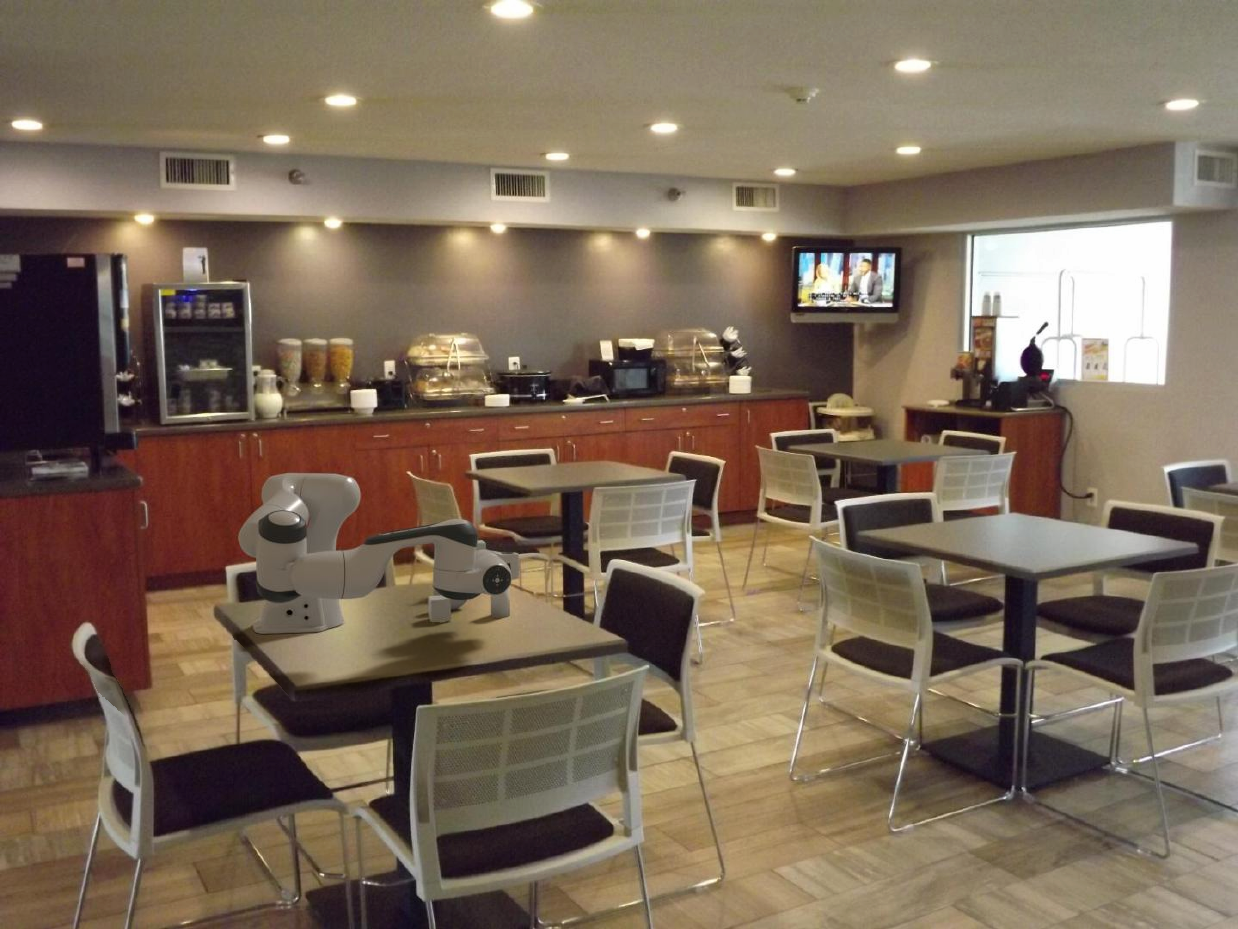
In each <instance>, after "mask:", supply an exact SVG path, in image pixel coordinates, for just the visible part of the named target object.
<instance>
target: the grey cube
mask: <svg viewBox="0 0 1238 929" xmlns="http://www.w3.org/2000/svg"><path fill="white" fill-rule="evenodd" d="M427 598H428V599H427V600H428V603H427V606H428V619H430V620H431V621H430V620H429V621H430V623H431V622H439V623H441V622H440V621H450V620H451V621H452V610H451V600H450V599H449V598H446V597H443V596H442V595H441V596H434V595H429V596H428V597H427Z"/></svg>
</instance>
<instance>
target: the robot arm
mask: <svg viewBox="0 0 1238 929" xmlns="http://www.w3.org/2000/svg"><path fill="white" fill-rule="evenodd" d="M361 496H362V494H361V490H360V486H359V484H358V482H357V480H355V478H354V477H351V476H349V475H348V476H347V475H344V474H338V473H323V472H322V473H321V472H319V473H317V472H316V473H315V472H314V473H311V472H310V473H309V472H308V473H307V472H305V473H304V472H286V473H279V474H276V475H271V476H269V477H268V478H267V479H266V481H265V482H264V483H263V486H262V489H261V500H262V505H261V506H260V507H258V508H257V509H256V510H255V511H254V512H253V513H252V514H251V515H250V516H249V517H248V518H247V519H246V521H245V522H244V523H243V525H242V527H241V528H240V530H239V531H238V532H239V533H238V536H237V537H238V538H237V539H238V542H239V546H240V548H241V550H242V551H243V552H244V553H245V554H246V555H248V556H250V557H252V558H254V559H256V562H255V564H256V566H255V571H256V578H255V585H256V589H257V591H256V592H257V593H258V595H259V597H261V598H263V599H264V600H265V602H264V604H263V607H262V610H261V616H260V618H259V619H256V620H254V622H253V624H252V630H253V631H254V632H255V633H257V634H263V635H264V634H265V635H266V634H267V635H268V634H269V635H270V634H292V633H294V634H296V633H297V634H299V633H300V634H301V633H319V632H322V631H326V630H328V629H332V628H335V627H339V626H341V625H343V624H344V623H345V619H344V616H343V612H342V610H341V604H340V600H353V599H361V598H364V597H366V596H368V595H369V594H371V593H372V592H373V591H374V590H375V589H376V588H377V586H378V585H379V584H380V582H381V580H382V578H383V576H384V574H385V571H386V569H387V566H388V564H389V562H390V561H391V559H392V557H393V556H394V554H396V553H397V552H398V551H400V550H401V549H405V548H410V547H415V546H421V545H428V544H434V555H433V556H434V559H433V567H432V568H433V570H432V571H433V573H432V588H433V590H434V589H435V590H436V591H437V592H438V593H439V594H440V595H442V596H443V597H446V598H449V599H453V600H467V601H468V600H473V599H475V598H477V597H479V596H480V595H481V594H484V595H487V596H491V595H493V596H496V595H500V594H502V593H504V592H505V591H506V590H507V589H508V588H509V589H510V587H511V584H512V580H513V581H514V580H518V579H519V575H520V554H519V553H518V552H513V551H511V552H510V551H508V552H506V551H495V550H490V549H487V548H486V549H482V550H478V551H476V547H477V542H478V540H479V533H480V532H479V531H478V530H477V528H476V527H475V526H474V524H473V523H472V522H471V521H469V520H467V519H462V518H453V519H452V518H451V519H448V520H444V521H440V522H436V523H435V522H434V523H431V524H427V525H426V524H425V525H419V526H414V527H409V528H402V529H397V530H391V531H387V532H386V531H385V532H381V533H377V534H374V535H371V536H369V537H367V538H366V539H365V541H364V542H363V543H362V544H360V545H359V546H357V547H355V548H351V549H347V550H336V548H337V539H338V534H339V531H340V529H341V527H342V525H343V523H344V522H345V521H346V519H347V518H348V517H349V516H351V515H352V514H353V513H354V512H355V511H356V510H357V509H358V507H359V505H360V502H361V498H362V497H361Z"/></svg>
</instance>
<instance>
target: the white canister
mask: <svg viewBox="0 0 1238 929" xmlns="http://www.w3.org/2000/svg"><path fill="white" fill-rule="evenodd" d="M510 593H511V592H510V587H509V588H508V589H507V590H506V591H505V592H504V593H502V594H500V595H496V596H493V595H490V617H492V616H493V617H492V618H496V617H502V618H507V617H508V618H509V616H511V608H510V607H511V602H510V601H511V600H510V599H511V598H510V595H511V594H510Z"/></svg>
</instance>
